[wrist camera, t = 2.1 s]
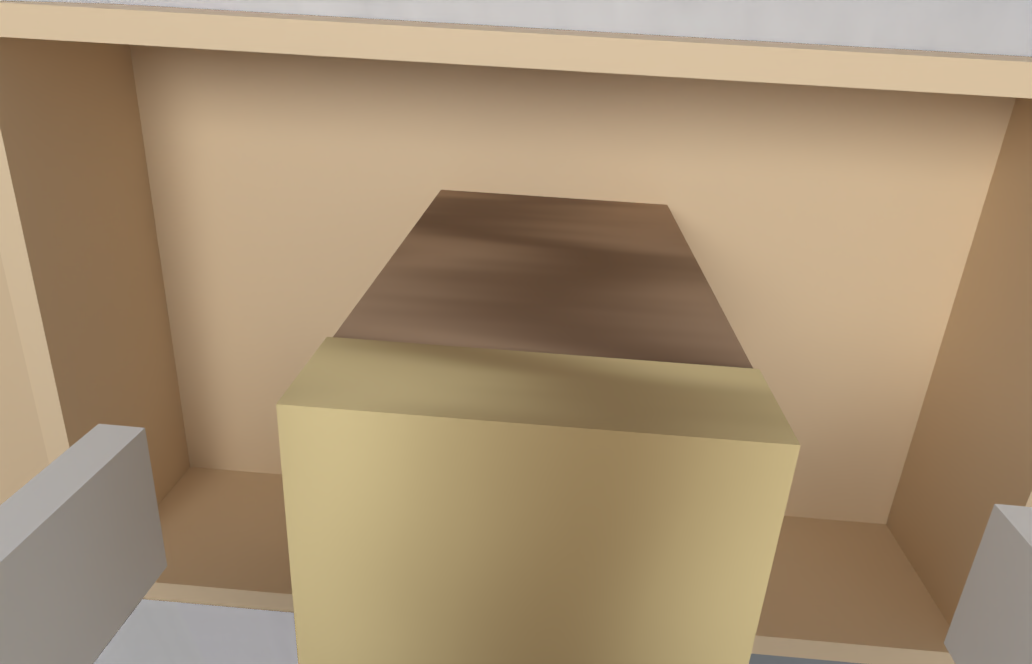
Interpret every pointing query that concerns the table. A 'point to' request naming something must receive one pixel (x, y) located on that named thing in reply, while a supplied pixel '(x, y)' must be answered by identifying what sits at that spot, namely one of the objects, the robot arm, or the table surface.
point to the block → (533, 450)
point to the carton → (535, 172)
